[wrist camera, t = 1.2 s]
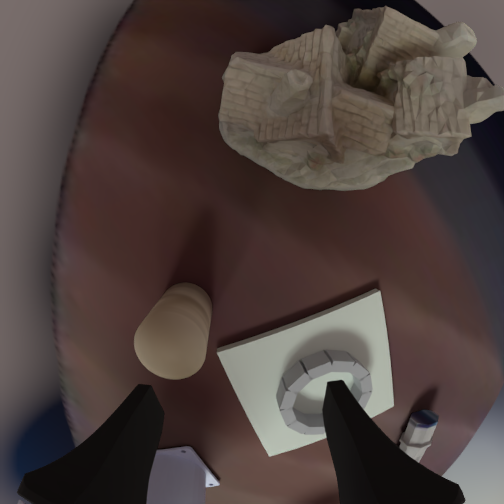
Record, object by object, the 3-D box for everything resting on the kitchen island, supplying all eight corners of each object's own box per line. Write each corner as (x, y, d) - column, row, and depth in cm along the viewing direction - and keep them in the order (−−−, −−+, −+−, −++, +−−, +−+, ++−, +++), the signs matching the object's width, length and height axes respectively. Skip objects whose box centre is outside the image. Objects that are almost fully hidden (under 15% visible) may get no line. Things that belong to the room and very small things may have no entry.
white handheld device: (449, 418, 21) (386, 531, 21) (420, 398, 28) (372, 508, 28) (418, 430, 21) (358, 540, 20) (390, 405, 27) (345, 516, 27)
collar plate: (268, 451, 23) (271, 469, 21) (217, 348, 21) (216, 365, 19) (390, 402, 24) (402, 416, 21) (375, 288, 22) (392, 297, 19)
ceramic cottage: (415, 74, 20) (510, 9, 5) (378, 223, 22) (523, 246, 7) (269, 10, 19) (283, -107, 4) (201, 154, 21) (120, 62, 6)
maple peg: (173, 337, 21) (153, 385, 14) (153, 291, 20) (122, 325, 13) (219, 322, 21) (217, 369, 14) (201, 275, 20) (188, 304, 14)
